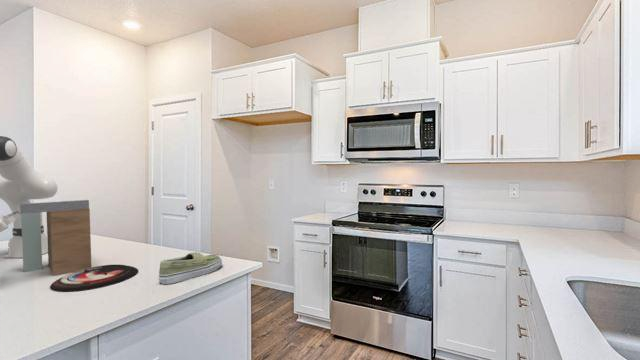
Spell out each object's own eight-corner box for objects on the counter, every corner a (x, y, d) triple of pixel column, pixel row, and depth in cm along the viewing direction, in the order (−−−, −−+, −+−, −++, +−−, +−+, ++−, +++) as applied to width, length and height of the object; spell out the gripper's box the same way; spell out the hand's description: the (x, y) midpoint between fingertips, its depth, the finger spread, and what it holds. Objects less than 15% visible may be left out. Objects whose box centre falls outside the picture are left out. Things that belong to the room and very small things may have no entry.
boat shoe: (228, 267, 146) (228, 246, 145) (171, 288, 120) (170, 263, 120) (211, 264, 151) (211, 244, 150) (153, 283, 125) (152, 260, 125)
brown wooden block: (48, 264, 151) (46, 207, 150) (83, 259, 160) (81, 205, 159) (53, 275, 135) (50, 211, 134) (91, 268, 144) (89, 208, 143)
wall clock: (84, 303, 113) (154, 271, 142) (82, 290, 113) (153, 260, 141) (32, 293, 122) (108, 265, 150) (30, 281, 122) (107, 255, 150)
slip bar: (20, 212, 131) (19, 203, 131) (87, 208, 146) (87, 199, 146) (20, 213, 129) (20, 204, 128) (89, 208, 144) (88, 200, 143)
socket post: (23, 268, 146) (20, 207, 145) (41, 265, 150) (38, 206, 149) (23, 272, 140) (21, 209, 139) (42, 269, 144) (40, 208, 143)
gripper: (-34, 232, 113) (13, 209, 121) (-29, 225, 128) (13, 204, 136) (-20, 247, 116) (26, 223, 123) (-16, 238, 130) (24, 217, 138)
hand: (19, 213), depth 130 cm, fingers open, 8 cm apart
